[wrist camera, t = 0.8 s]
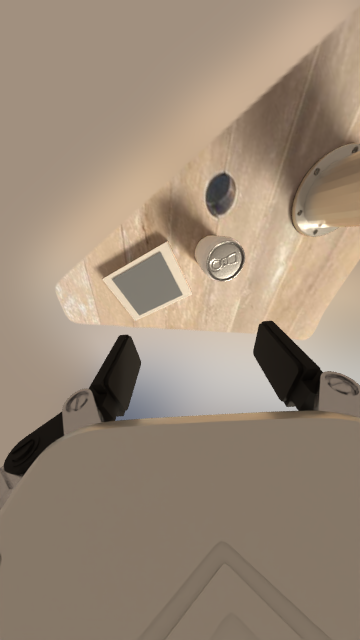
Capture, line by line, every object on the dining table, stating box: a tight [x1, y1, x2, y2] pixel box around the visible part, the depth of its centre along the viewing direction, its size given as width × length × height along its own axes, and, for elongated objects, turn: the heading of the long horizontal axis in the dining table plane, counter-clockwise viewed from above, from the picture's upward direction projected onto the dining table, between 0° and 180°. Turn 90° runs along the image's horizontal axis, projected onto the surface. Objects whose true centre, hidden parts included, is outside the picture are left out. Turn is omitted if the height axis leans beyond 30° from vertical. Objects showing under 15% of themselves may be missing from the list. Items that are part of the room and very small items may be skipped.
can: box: [195, 235, 245, 281], centre depth 26 cm, size 6×6×12 cm
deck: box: [102, 241, 192, 321], centre depth 33 cm, size 16×12×3 cm
